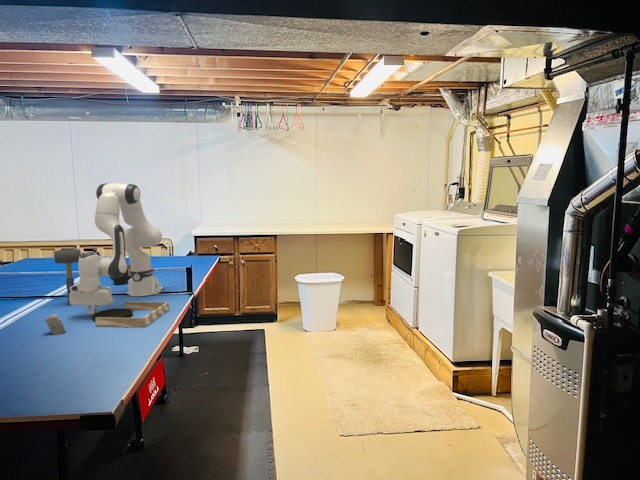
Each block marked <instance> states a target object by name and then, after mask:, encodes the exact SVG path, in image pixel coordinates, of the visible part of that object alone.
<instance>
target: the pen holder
mask: <svg viewBox="0 0 640 480" xmlns="http://www.w3.org/2000/svg"><path fill="white" fill-rule="evenodd" d="M112 282H113V285H115V286H125V285H127V284H128V285H129V277H128V269H127V271H126V273H125V274H124V275H123V276H122V277H120V278H115V277H112Z"/></svg>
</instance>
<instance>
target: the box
mask: <svg viewBox="0 0 640 480" xmlns="http://www.w3.org/2000/svg"><path fill="white" fill-rule="evenodd" d="M124 309H130V310H132V311H151V312H150V313H148V314H147V315H145V316H144V317H131V318H115V317H96V318H95V322H94V323H95V327H105V328H106V327H107V328H108V327H110V328H111V327H112V328H113V327H115V328H116V327H117V328H122V327H123V328H146V327H147V326H148V325H150V324H151V323H153V322H154V321H155V320H157V319H158V318H159V317H161V316H162V315H164V314H165V313H166V312H168V311H169V310H170V302H169V301H124Z"/></svg>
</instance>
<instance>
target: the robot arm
mask: <svg viewBox="0 0 640 480" xmlns="http://www.w3.org/2000/svg"><path fill="white" fill-rule="evenodd" d="M95 192H96V193H95V194H96V198H97V203H96V206H95V214H94V225H95V226H96V228H97V229H98V230H99V231H100V232H102V233H104V234H106V235H108V236H109V237H110V238H111V240H112V256H102V255H99V254H97V253H96V252H94V251H87V252H84V253H81V255H80V256H79V261H78V262H77V265H78V269H77V270H78V274H79V283H78V282H77V283H76V284H74V285H73V286H71V287H70V291H71V292H70V294H69V301H70V304H71V305H70V306H85V309H86V310H87V312H88V315H93V314H95V313H97V309H98V307H99V306H106V307H107V306H111V305H112V304H113V303H114V302H113V301H114V300H113V293H112V289H111V287H110V286H104V285H101V279H100V277H111V278H113V277H115V278H120V277H122V276H123V275H124V274H125V273H126V271H127V266H128V265H127V263H128V262H127V257H126V253H127V255H128V258H129V264H130V266H131V271H130V278H128V291H126V295H129V296H130V297H145V296H151V295H158V294H159V293H160V292H161V291H162V290H163V289H164V286H162V285H161V286H160V284H159V283H160V282H159V279H158V278H157V277H156V276H155V275H154V272H155V268H153V267H152V264H151V263H152V262H151V256H150V255H149V254H148V252H147V253H146V252H145V251H144V250H142V248H141V247H153V246H155V247H156V246H158V245H159V244H160V243H161V242H162V239H163V235H162V232H161V230H160V229H159V228H157V227H156V226H153V224H151V222H149V221H148V219H147V218H146V216H145V213H144V209H143V205H142V202H141V199H140V198H141V191H140V188H139V187H138V186H137V185H136V184H132V183H124V182H116V183H115V182H114V183H113V182H112V183H108V182H106V183H101V184H99V185H98V187H97V188H96V191H95ZM120 211H121V216H122V218H123V222H124V223H125V224H126V225H127V226H130V227H125V228H124V227H123V226H122V225H121V222H120ZM91 306H92V308H93V309H92V308H91Z"/></svg>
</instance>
